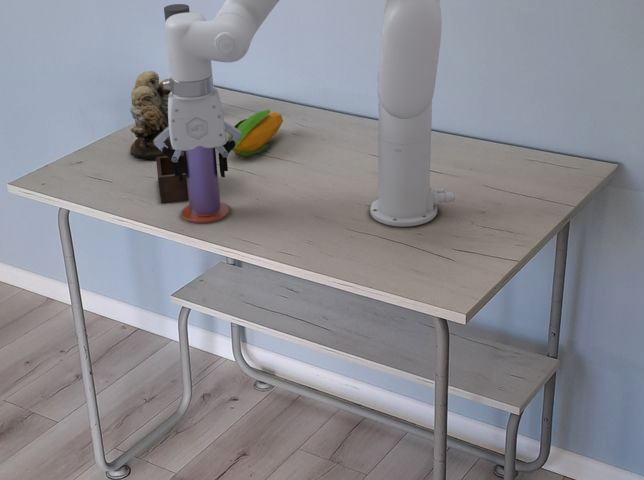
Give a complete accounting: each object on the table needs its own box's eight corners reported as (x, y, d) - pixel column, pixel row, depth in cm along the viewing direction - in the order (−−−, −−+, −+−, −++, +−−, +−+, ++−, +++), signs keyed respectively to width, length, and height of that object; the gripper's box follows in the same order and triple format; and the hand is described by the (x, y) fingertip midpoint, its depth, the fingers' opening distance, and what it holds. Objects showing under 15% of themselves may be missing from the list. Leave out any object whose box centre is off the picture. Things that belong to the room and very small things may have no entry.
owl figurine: (163, 166, 218) (153, 87, 209) (116, 159, 222) (105, 82, 213) (204, 135, 231) (197, 61, 222) (159, 129, 236) (150, 56, 226)
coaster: (226, 201, 202) (226, 198, 202) (230, 220, 194) (230, 218, 194) (180, 205, 201) (180, 203, 201) (183, 225, 194) (183, 223, 193)
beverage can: (216, 218, 194) (209, 143, 186) (186, 216, 196) (177, 142, 187) (224, 204, 199) (217, 131, 191) (195, 203, 200) (187, 130, 192)
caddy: (210, 176, 212) (207, 151, 209) (214, 197, 204) (211, 171, 201) (159, 181, 211) (155, 156, 208) (161, 203, 202) (157, 177, 199)
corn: (218, 126, 215) (264, 95, 229) (219, 159, 219) (264, 127, 234) (249, 133, 212) (293, 101, 227) (249, 167, 216) (293, 133, 231)
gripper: (144, 96, 180) (156, 189, 190) (242, 87, 182) (249, 180, 191) (143, 83, 186) (155, 173, 196) (238, 74, 188) (245, 164, 198)
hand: (201, 176), depth 194 cm, fingers open, 7 cm apart
